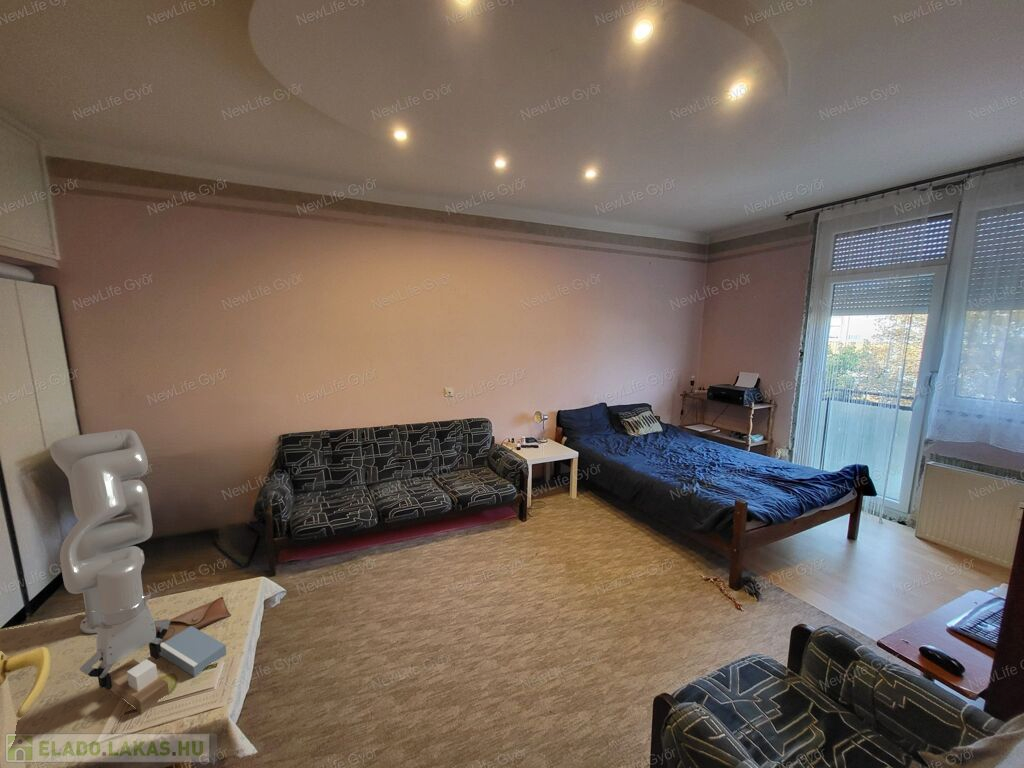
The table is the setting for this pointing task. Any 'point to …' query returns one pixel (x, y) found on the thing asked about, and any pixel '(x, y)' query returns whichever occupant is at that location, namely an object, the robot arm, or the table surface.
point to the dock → (192, 650)
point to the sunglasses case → (197, 618)
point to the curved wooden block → (137, 698)
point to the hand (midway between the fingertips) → (132, 671)
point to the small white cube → (142, 675)
